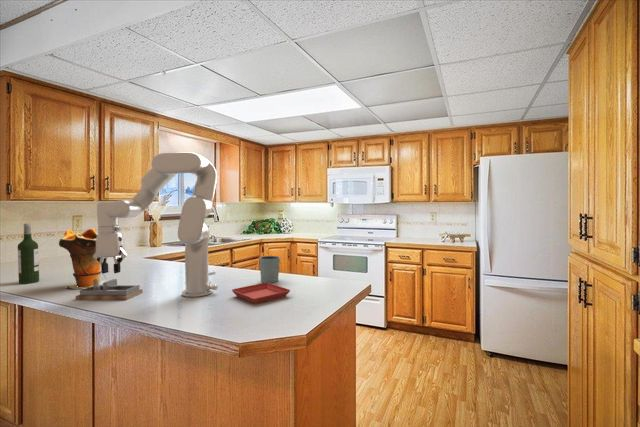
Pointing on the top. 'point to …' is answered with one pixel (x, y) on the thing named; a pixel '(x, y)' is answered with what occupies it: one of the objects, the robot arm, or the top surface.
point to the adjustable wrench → (212, 272)
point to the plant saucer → (260, 292)
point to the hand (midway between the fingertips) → (111, 272)
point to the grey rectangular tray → (111, 289)
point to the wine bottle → (28, 258)
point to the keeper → (99, 297)
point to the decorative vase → (82, 257)
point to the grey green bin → (269, 268)
